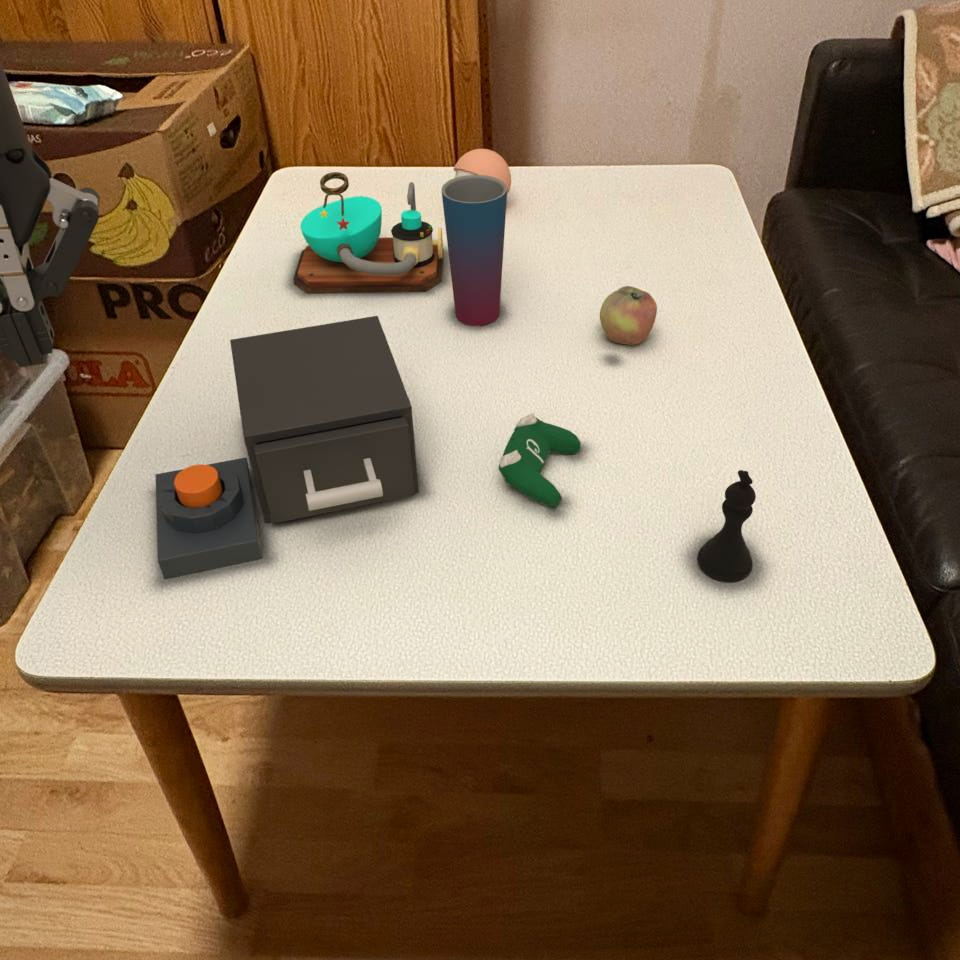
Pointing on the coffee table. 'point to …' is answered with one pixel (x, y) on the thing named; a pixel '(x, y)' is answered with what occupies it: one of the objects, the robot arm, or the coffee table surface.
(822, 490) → the coffee table surface
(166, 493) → the control block
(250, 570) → the coffee table surface
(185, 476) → the button
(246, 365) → the drawer cabinet
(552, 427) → the gaming controller
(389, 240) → the contraption on wooden base
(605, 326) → the apple
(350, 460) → the dark box with handle
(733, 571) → the chess piece
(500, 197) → the cup
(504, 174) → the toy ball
